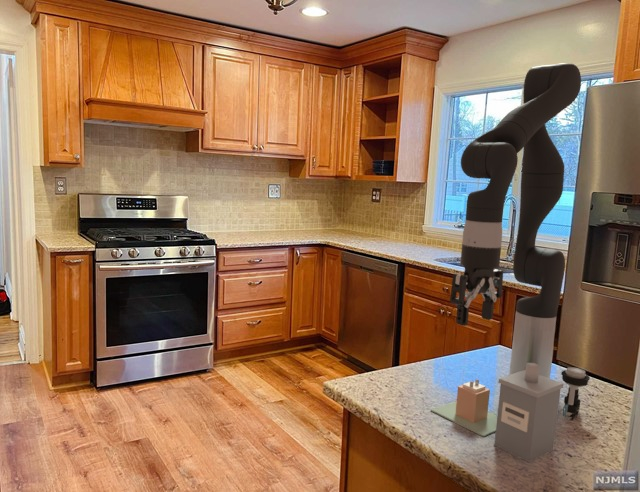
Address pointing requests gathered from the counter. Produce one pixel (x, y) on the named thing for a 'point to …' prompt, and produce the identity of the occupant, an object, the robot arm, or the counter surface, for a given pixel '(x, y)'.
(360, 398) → the counter surface
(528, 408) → the box
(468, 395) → the block
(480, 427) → the pad
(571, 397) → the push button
